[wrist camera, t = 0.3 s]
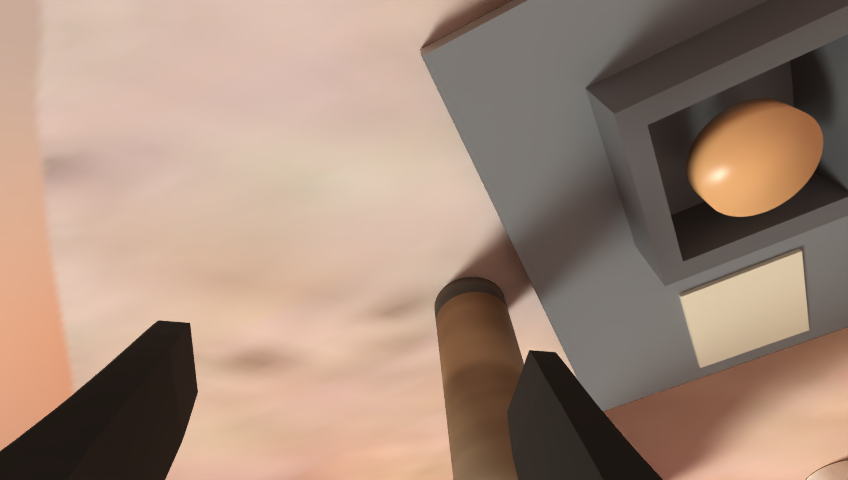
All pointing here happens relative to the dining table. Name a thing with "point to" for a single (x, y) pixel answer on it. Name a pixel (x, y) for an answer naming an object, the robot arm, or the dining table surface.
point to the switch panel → (654, 176)
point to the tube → (831, 472)
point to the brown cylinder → (478, 377)
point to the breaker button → (754, 156)
